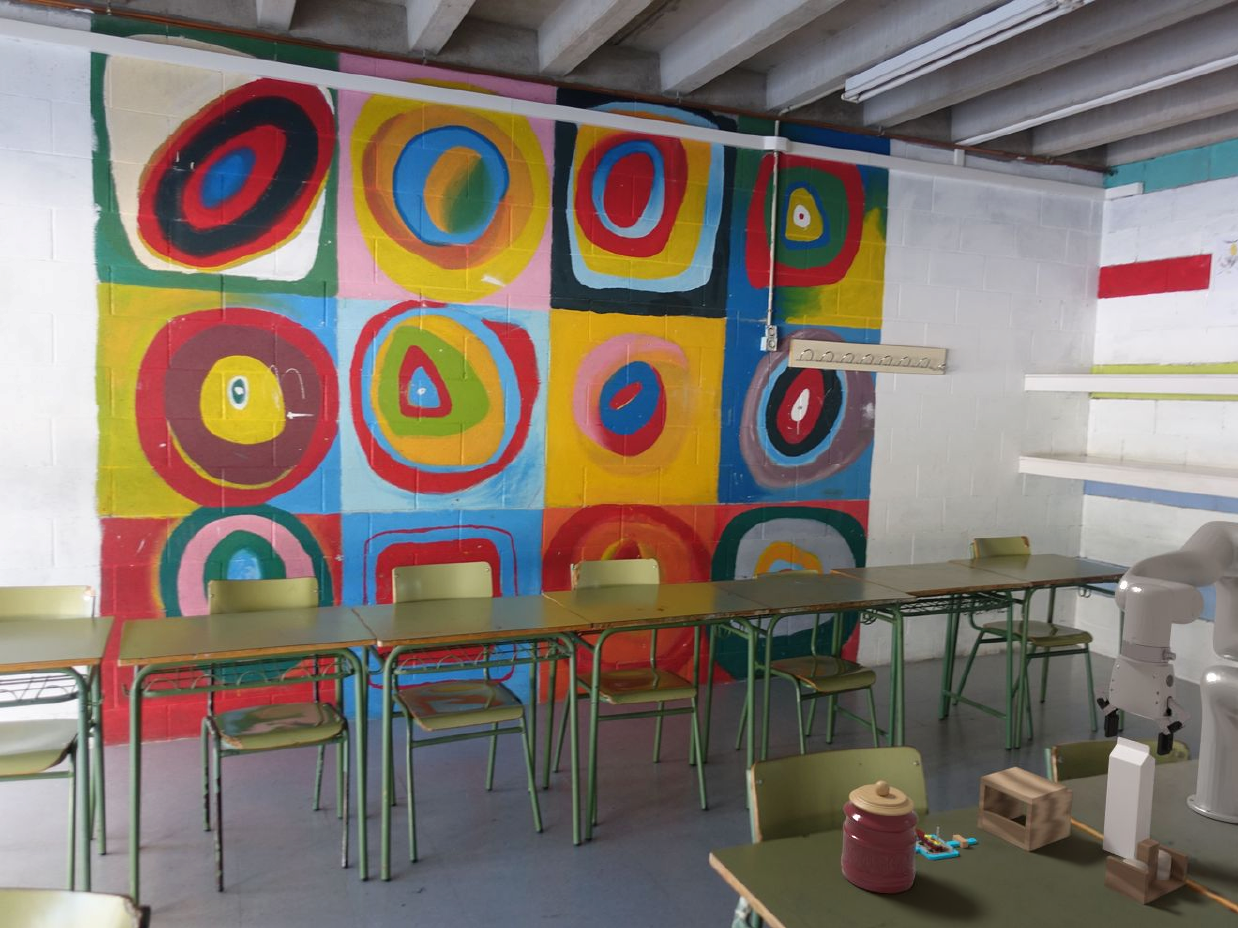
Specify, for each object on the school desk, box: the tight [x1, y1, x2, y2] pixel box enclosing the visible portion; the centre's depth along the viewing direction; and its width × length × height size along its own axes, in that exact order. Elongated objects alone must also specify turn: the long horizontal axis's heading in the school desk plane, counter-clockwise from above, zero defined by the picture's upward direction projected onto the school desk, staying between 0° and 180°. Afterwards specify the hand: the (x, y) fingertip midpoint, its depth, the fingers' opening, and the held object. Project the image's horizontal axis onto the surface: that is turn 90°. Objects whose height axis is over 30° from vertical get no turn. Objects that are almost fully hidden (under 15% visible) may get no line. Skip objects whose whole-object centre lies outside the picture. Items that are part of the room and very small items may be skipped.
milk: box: [1102, 736, 1156, 859], centre depth 181 cm, size 6×6×22 cm
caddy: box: [1104, 837, 1189, 905], centre depth 169 cm, size 14×7×8 cm, turn 122°
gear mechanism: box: [915, 826, 978, 861], centre depth 181 cm, size 20×5×9 cm
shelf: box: [977, 766, 1074, 852], centre depth 189 cm, size 14×12×10 cm
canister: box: [840, 780, 919, 894], centre depth 168 cm, size 13×13×18 cm
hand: (1136, 744), depth 170 cm, fingers open, 9 cm apart
